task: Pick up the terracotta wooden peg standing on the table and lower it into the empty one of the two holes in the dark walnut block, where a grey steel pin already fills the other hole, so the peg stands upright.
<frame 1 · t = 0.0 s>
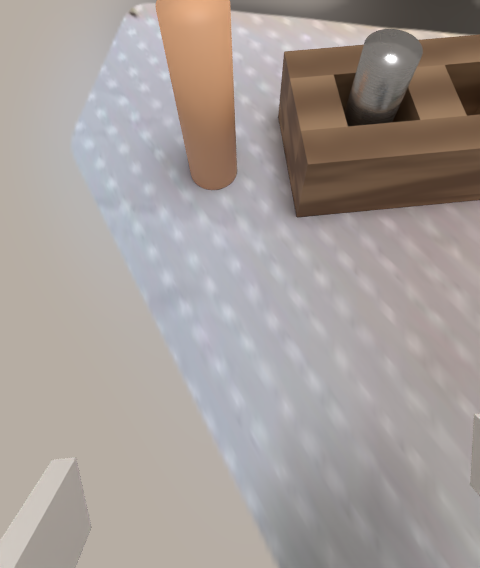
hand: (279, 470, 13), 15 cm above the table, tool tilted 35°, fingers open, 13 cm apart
peg: (213, 170, 36), on the table
steel pin: (355, 150, 36), point 1 cm above the table, touching hole block
hole block: (400, 153, 37), on the table
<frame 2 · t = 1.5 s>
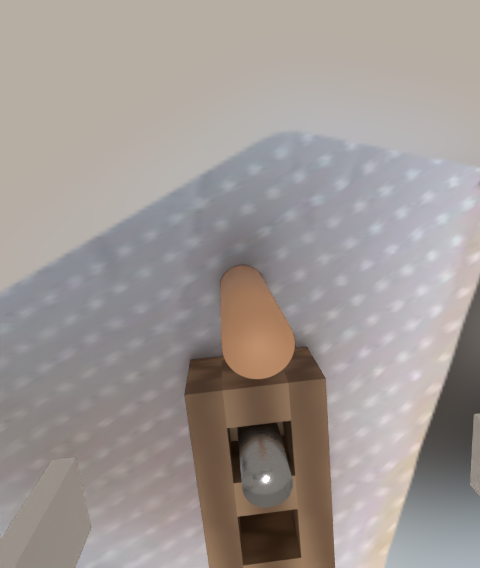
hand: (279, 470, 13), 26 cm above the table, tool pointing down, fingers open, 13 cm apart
peg: (242, 287, 37), on the table
steel pin: (255, 414, 40), point 1 cm above the table, touching hole block
hole block: (258, 447, 42), on the table
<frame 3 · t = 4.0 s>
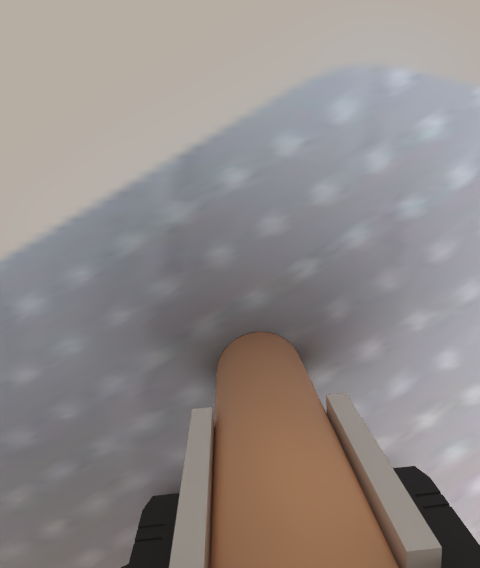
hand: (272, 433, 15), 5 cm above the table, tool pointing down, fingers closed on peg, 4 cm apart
peg: (259, 372, 20), on the table, touching gripper
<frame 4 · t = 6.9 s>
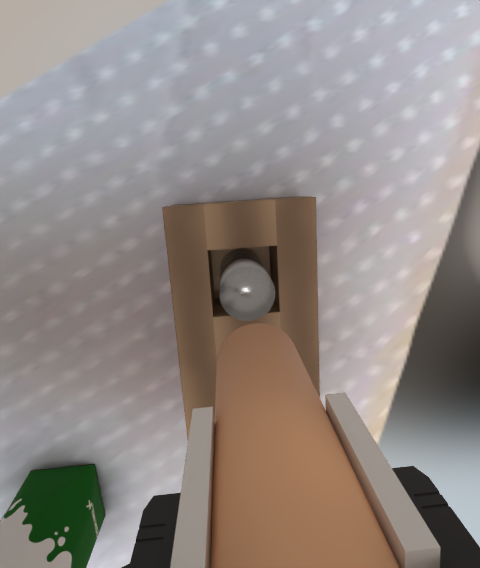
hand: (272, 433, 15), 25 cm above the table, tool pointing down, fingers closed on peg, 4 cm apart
peg: (257, 361, 21), point 18 cm above the table, touching gripper
steel pin: (241, 268, 37), point 1 cm above the table, touching hole block
hole block: (243, 310, 39), on the table
milk carton: (70, 492, 43), on the table
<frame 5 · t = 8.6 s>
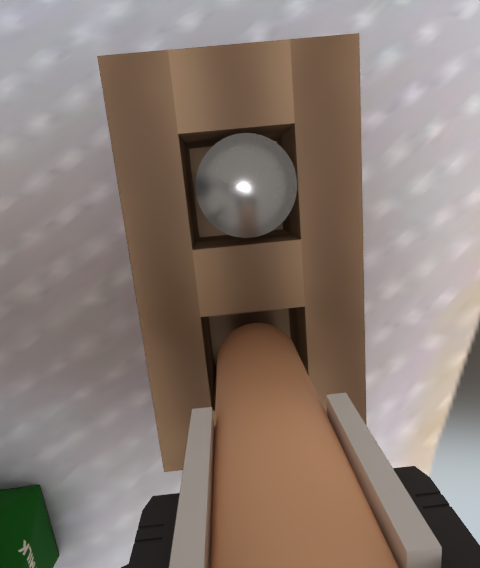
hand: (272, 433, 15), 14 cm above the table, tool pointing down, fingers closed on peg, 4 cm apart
peg: (257, 360, 21), point 7 cm above the table, touching gripper
steel pin: (237, 190, 25), point 1 cm above the table, touching hole block
hole block: (243, 257, 27), on the table
milk carton: (8, 524, 31), on the table
when the fingers open (9 cm above the table, at t = 9.9 s): peg drops 1 cm, resting on hole block.
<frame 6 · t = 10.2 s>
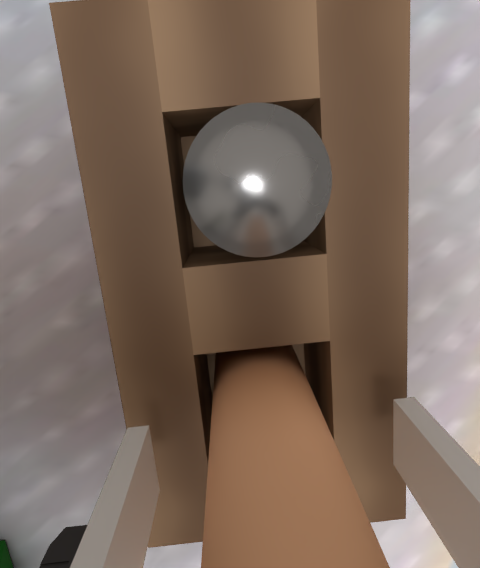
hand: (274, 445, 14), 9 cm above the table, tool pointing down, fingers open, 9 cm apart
peg: (253, 352, 22), point 1 cm above the table, touching hole block
steel pin: (241, 189, 20), point 1 cm above the table, touching hole block
hole block: (247, 271, 22), on the table
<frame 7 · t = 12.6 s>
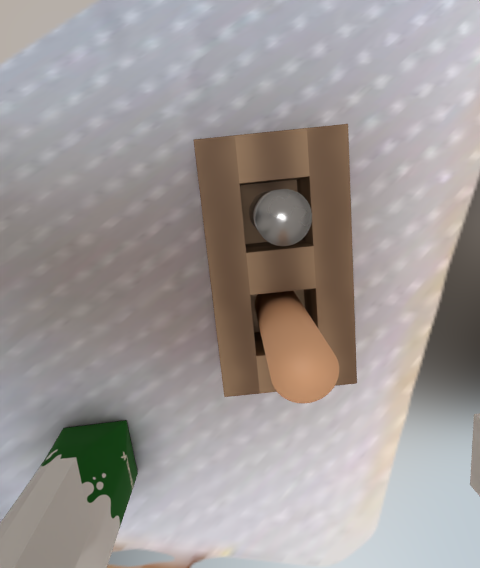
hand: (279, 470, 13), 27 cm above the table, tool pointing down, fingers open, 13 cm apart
peg: (276, 304, 39), point 1 cm above the table, touching hole block
steel pin: (269, 212, 37), point 1 cm above the table, touching hole block
hole block: (272, 257, 39), on the table
milk carton: (102, 449, 43), on the table
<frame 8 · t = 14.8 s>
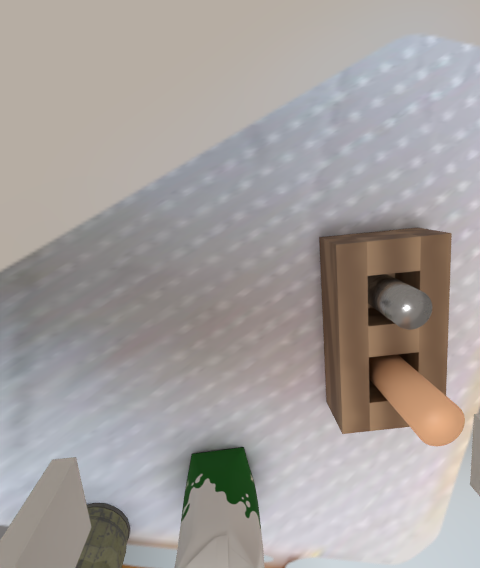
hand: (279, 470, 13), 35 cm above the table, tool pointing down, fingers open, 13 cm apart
peg: (372, 356, 49), point 1 cm above the table, touching hole block
steel pin: (372, 285, 47), point 1 cm above the table, touching hole block
hole block: (369, 319, 49), on the table
milk carton: (221, 471, 53), on the table
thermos: (100, 527, 54), on the table
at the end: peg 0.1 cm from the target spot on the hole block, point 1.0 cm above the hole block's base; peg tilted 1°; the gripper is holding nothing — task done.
